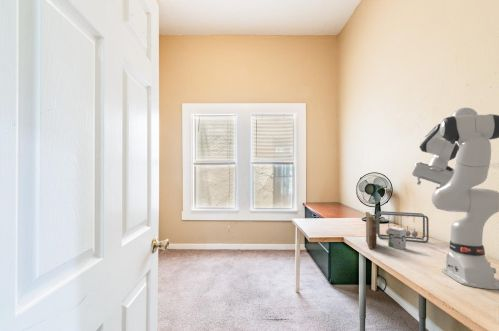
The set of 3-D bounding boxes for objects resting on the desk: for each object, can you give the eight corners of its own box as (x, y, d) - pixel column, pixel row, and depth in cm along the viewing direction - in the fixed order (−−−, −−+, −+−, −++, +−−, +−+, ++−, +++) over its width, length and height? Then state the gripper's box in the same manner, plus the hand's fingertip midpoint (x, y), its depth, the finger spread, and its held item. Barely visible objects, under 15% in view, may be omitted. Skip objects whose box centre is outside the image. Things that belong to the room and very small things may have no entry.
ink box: (387, 246, 166) (387, 227, 166) (393, 245, 168) (393, 226, 168) (401, 249, 158) (400, 229, 158) (406, 248, 160) (406, 229, 161)
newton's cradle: (424, 239, 183) (424, 213, 184) (428, 243, 174) (428, 215, 174) (376, 235, 194) (376, 210, 194) (377, 238, 184) (377, 212, 185)
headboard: (377, 249, 157) (377, 217, 158) (368, 249, 159) (368, 216, 159) (373, 241, 176) (373, 212, 177) (365, 240, 178) (365, 211, 178)
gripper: (417, 159, 160) (408, 178, 158) (458, 170, 149) (448, 192, 146) (416, 163, 165) (407, 182, 163) (456, 175, 154) (446, 196, 151)
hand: (427, 187), depth 154 cm, fingers open, 8 cm apart
